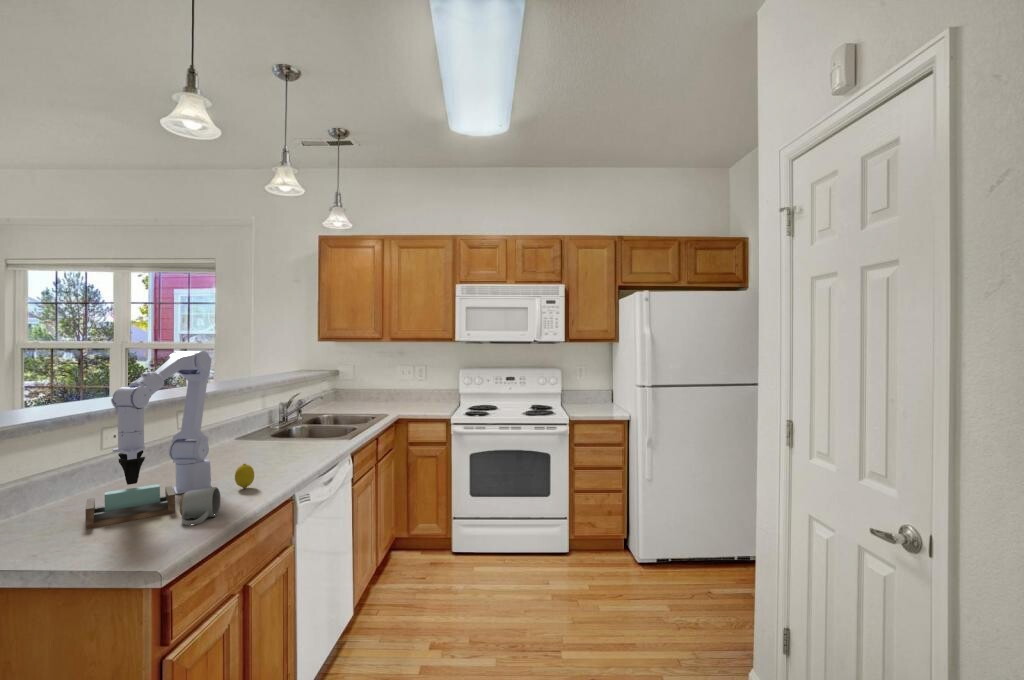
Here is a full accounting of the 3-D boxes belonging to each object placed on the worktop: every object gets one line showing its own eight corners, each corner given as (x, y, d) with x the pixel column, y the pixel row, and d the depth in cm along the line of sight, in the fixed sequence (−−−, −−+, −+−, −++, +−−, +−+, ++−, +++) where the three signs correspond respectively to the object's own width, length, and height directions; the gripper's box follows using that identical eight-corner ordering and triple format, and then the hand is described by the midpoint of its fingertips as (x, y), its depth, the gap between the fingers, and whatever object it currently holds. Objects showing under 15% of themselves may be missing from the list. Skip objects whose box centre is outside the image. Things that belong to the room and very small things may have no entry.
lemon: (246, 491, 158) (245, 466, 158) (230, 490, 159) (230, 465, 159) (258, 486, 164) (258, 461, 164) (243, 485, 165) (243, 461, 165)
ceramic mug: (188, 513, 139) (187, 485, 139) (221, 510, 141) (220, 483, 141) (173, 528, 129) (172, 498, 129) (209, 525, 131) (208, 496, 131)
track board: (172, 502, 148) (171, 485, 148) (175, 512, 140) (175, 494, 140) (87, 517, 136) (87, 499, 136) (85, 528, 128) (85, 509, 128)
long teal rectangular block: (159, 505, 143) (159, 483, 143) (160, 507, 141) (159, 486, 141) (105, 514, 136) (104, 492, 136) (104, 517, 133) (104, 495, 133)
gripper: (112, 428, 141) (113, 477, 141) (112, 437, 130) (113, 489, 130) (143, 425, 145) (144, 472, 146) (146, 433, 134) (146, 484, 134)
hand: (131, 480), depth 138 cm, fingers open, 7 cm apart
